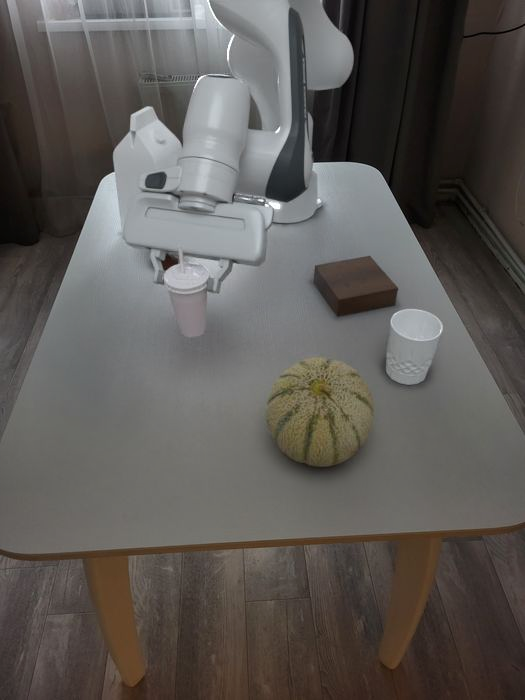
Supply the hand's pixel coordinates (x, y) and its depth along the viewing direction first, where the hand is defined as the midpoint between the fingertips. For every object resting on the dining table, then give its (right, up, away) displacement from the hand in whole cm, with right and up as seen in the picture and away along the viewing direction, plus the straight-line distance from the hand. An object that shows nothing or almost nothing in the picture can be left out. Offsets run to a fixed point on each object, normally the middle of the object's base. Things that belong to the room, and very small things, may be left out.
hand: (185, 288), depth 77 cm
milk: (-14, +20, +52) cm, 57 cm away
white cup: (+34, -12, +16) cm, 40 cm away
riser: (+28, +3, +32) cm, 43 cm away
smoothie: (0, -6, +6) cm, 8 cm away
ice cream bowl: (-10, +10, +41) cm, 43 cm away
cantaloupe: (+18, -23, +4) cm, 29 cm away
